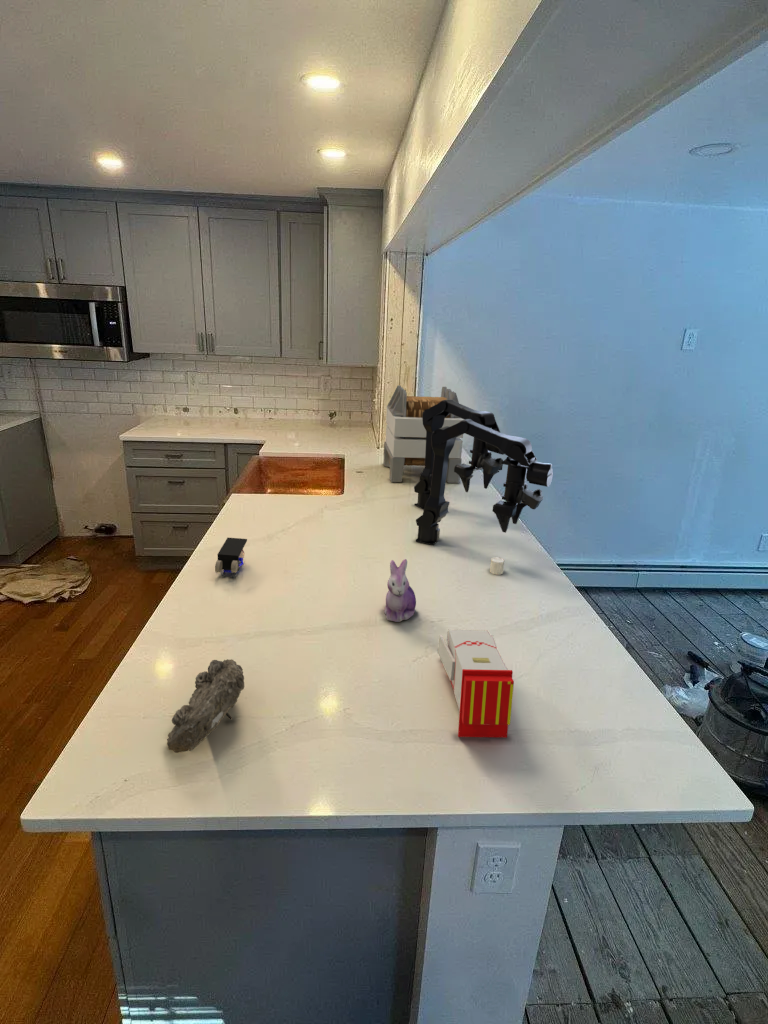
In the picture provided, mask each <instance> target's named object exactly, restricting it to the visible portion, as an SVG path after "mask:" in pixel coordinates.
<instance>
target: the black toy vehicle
mask: <svg viewBox="0 0 768 1024" xmlns="http://www.w3.org/2000/svg"><path fill="white" fill-rule="evenodd" d="M247 542H248V538H240V537H226V539H225V541H224V543H223V544H222V546H221V547H220V549H219V551H218V552H217V560H216V562H215V564H214V572H215V573H221V577H222V578H224V577H225V576H226V574H227V573H230V574H231V573H232V574H231V578H234V577H235V575H236V573H237V572H239V571H240V567H242V566H243V565H244V564H245V562H244V558H245V551H244V547H245V546H246V544H247Z"/></svg>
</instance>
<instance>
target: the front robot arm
mask: <svg viewBox="0 0 768 1024" xmlns="http://www.w3.org/2000/svg"><path fill="white" fill-rule="evenodd" d="M462 434H463V435H464V434H465V435H468V436H470V437H472V438H473V439H474V438H477V439H479V440H481V441H484V442H486V443H488V444H490V445H493V446H495V447H497V448H499V449H500V450H501V451H502V452H503V453H504V456H507V457H506V458H505V459H503V461H502V462H501V464H503V465H505V466H507V471H506V477H505V478H506V479H505V482H503V484H502V486H503V487H504V494H503V495H502V496H501V499H500V500H498V501H497V502H496V503H494V504H493V505H492V509H491V510H492V512H493V514H494V515H495V517H496V519H497V521H498V523H499V526H500V529H501V532H502V533H507V532H508V528H509V525H510V521H512V524H513V525H517V524H518V521H519V519H520V516H521V514H522V511H523V509H524V508H525V507H528V508H529V509H531V510H536V509H537V508H539V506H540V505H541V503H542V501H543V500H544V496H543V490H541V489H540V488H537V489H535V490H533V489H531V490H530V489H529V488H528V483H529V484H532V485H536V486H542V487H547V488H549V487H550V486H551V483H552V481H553V478H554V473H553V471H554V469H553V464H552V463H549V462H541V461H538V458H537V456H536V454H535V452H534V451H533V445H532V442H531V441H530V440H529V439H528V438H525V437H521V436H518V435H517V436H516V435H508V434H506V435H504V434H505V433H503V432H501V431H500V432H497V431H495V430H492V429H491V428H488V427H485V426H483V425H481V424H478V423H476V422H474V421H472V420H471V419H465V420H462V421H460V422H459V423H457V424H455V425H453V426H451V427H449V426H446V427H443V428H440V429H437V430H435V431H434V432H433V433H432V436H431V441H432V449H433V452H434V464H433V473H432V482H431V490H430V496H429V499H428V500H427V502H426V504H425V508H424V509H423V511H422V514H421V515H420V516H418V517H417V518H416V519H415V524H416V526H417V538H416V539H415V542H417V543H421V544H425V545H430V546H435V544H436V543H437V542H438V541H439V540H440V532H441V528H439V526H440V524H439V523H441V521H442V519H444V518H445V517H446V516H447V514H449V506H450V501H448V500H446V498H445V491H446V482H447V481H446V475H447V467H448V459H449V454H450V452H451V450H452V448H453V446H454V443H455V440H456V437H458V436H460V435H462ZM526 481H527V482H528V483H527V482H526Z"/></svg>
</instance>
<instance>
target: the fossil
mask: <svg viewBox="0 0 768 1024" xmlns="http://www.w3.org/2000/svg"><path fill="white" fill-rule="evenodd" d="M243 670H244V669H243V667H242V665H240V664H237V662H236V661H235V660H234V659H232V658H231V659H227V658H226V659H224V660H223V661H222V660H217V659H212V660H211V661H210V663H209V665H208V666H207V671H201V672H199V673H198V674H197V675H196V676H195V680H194V684H195V685H194V687H195V689H194V690H193V693H192V694H191V697H190V698H189V700H188V704H184V705H182V706H181V707H180V709H177V710H176V711H175V713H174V715H173V716H172V718H171V723H172V724H173V727H172V730H171V731H170V732H168V734H167V738H166V741H167V742H166V745H167V749H168V750H169V751H173V752H174V753H176V754H178V753H182V752H188V751H189V752H192V751H193V750H195V748H196V747H197V746H199V744H200V743H201V742H203V741H204V740H205V739H206V738H207V737H208V736H209V735H210V734H211V733H212V732H214V730H215V729H217V727H218V726H219V724H220V722H221V721H222V720H223V719H224V718H225V716H226V717H227V719H229V720H233V717H232V715H230V714H229V710H230V709H231V708H234V706H235V704H236V703H237V702H238V699H239V697H240V695H241V693H242V691H243V690H245V689H244V688H245V675H244V671H243Z"/></svg>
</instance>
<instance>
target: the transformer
mask: <svg viewBox="0 0 768 1024" xmlns="http://www.w3.org/2000/svg"><path fill="white" fill-rule="evenodd" d="M440 393H441V394H440V396H415V395H414V396H413V395H412V396H411V395H407V394H408V393H407V390H406V389H404V388H403V387H402V385H399V384H398V385H397V386H396V388H395V390H394V392H393V394H392V395H391V398H390V400H389V402H388V404H387V405H386V413H385V414H386V415H385V423H386V428H385V438H384V442H383V466H384V467H388V468H389V475H388V476H389V477H388V478H389V480H390V482H391V483H402V482H403V475H404V469H405V466H406V467H407V466H411V467H412V466H413V467H415V466H416V467H417V466H418V467H425V451H426V430H425V428H424V426H423V419H422V414H423V412H424V411H425V410H426V409H429V408H430V407H432V406H434V405H436V404H438V403H440V402H441V401H442V400H449V399H451V400H453V401H454V402H457V403H459V404H460V402H459V398H458V395H457V392H455V391H453V390H452V389H451V388H447V386H442V387H441V392H440ZM462 420H464V419H462V418H460V417H457V416H455V415H453V414H451V413H450V414H449V415H448V416H446V417H445V419H444V424H443V426H442V428H443V427H446V426H449V427H451V426H453V425H455V424H457V423H459V422H460V421H462ZM463 438H464V434H462V435H460V436H458V437H456V440H455V443H454V446H453V448H452V450H451V452H450V454H449V459H448V467H447V475H446V482H447V483H449V484H455V483H456V484H459V483H461V478H460V476H459V475H458V474H457V473H456V472H454V467H455V466H456V465H457V464H462V461H463V460H462V453H463V442H464V441H463V440H462V439H463Z"/></svg>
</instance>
